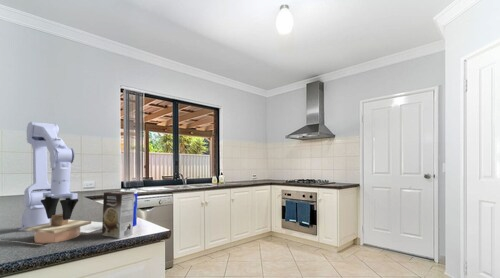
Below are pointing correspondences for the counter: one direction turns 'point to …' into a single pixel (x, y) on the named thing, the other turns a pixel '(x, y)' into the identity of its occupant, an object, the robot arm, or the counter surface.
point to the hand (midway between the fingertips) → (58, 218)
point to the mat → (91, 227)
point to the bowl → (56, 236)
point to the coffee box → (118, 214)
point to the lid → (57, 225)
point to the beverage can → (134, 207)
